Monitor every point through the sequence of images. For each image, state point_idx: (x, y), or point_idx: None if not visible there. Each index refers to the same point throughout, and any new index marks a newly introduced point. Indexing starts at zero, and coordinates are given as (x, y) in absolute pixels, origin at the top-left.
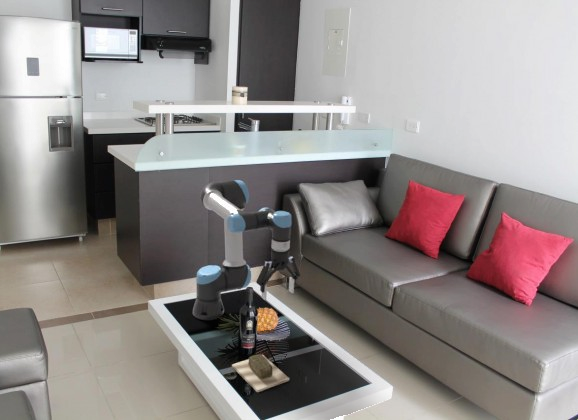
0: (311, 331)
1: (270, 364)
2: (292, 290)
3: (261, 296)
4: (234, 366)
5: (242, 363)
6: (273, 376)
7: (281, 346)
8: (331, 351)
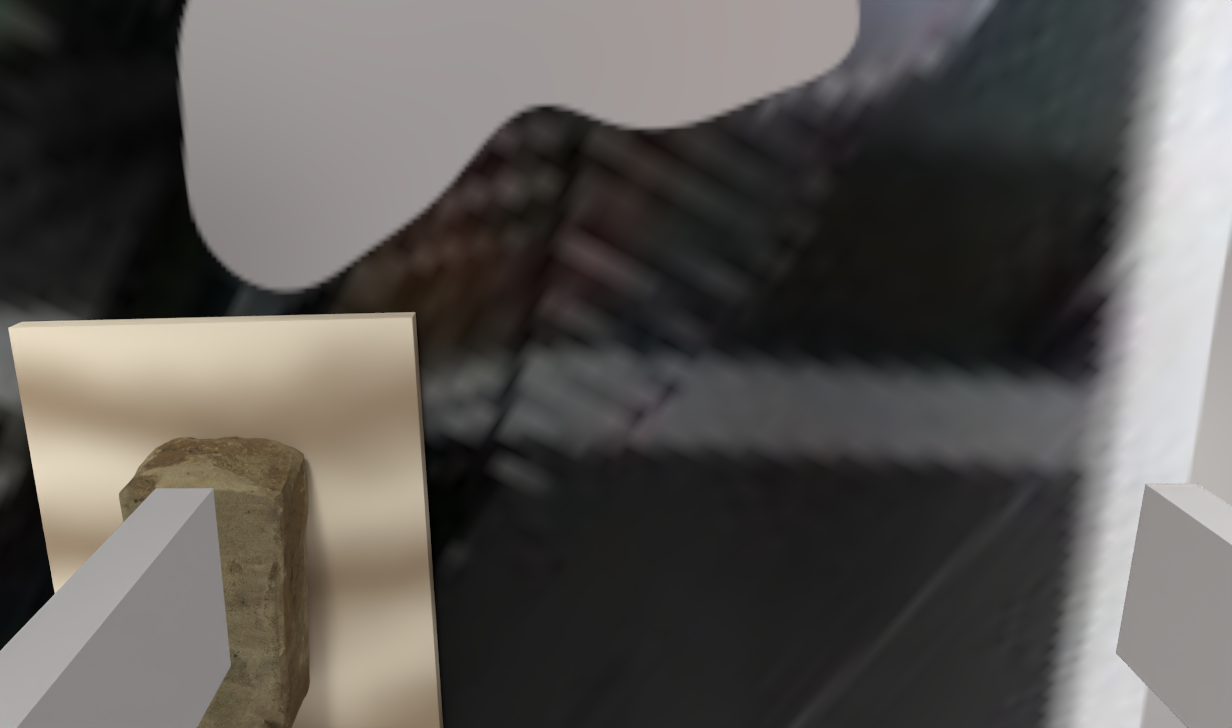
0: (1212, 123)
1: (278, 711)
2: (1177, 708)
3: (144, 503)
4: (23, 372)
5: (128, 363)
6: (323, 684)
7: (711, 234)
8: (1092, 555)
